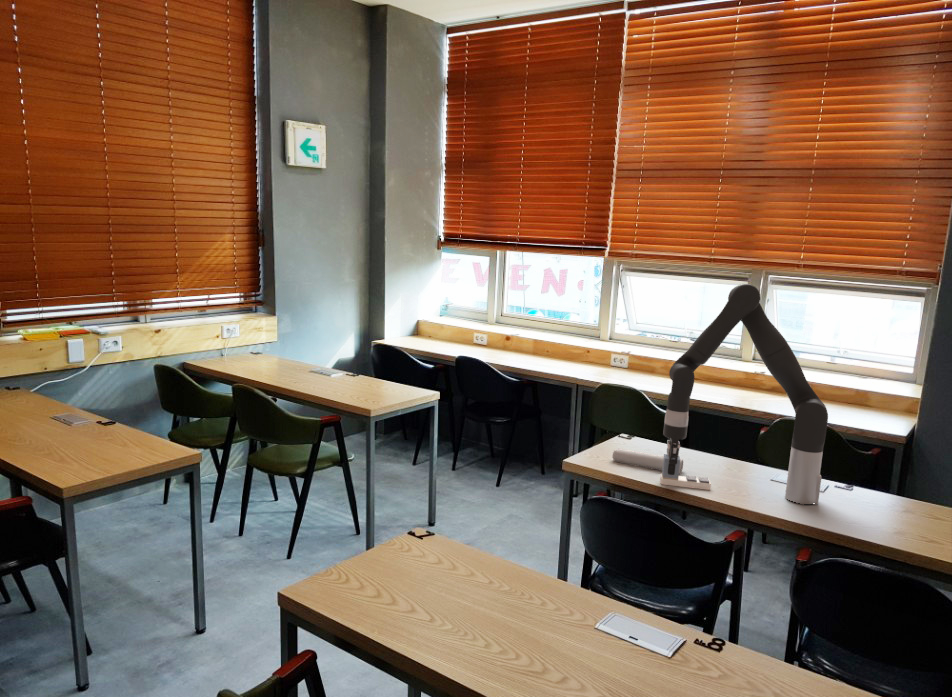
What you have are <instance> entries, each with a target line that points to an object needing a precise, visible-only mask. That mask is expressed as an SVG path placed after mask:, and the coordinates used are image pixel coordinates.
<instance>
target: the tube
mask: <svg viewBox="0 0 952 697" xmlns="http://www.w3.org/2000/svg"><path fill="white" fill-rule="evenodd" d="M663 459H664V455H658V454H654V453H653V454H652V453H646V452H640V451H635V450H634V451H633V450H628V449H621V448H617V449H614V450H613V452H612V460H613V461H614V462H616V463H619V462H620V463H619V464H624V465H630V464H631V465H630V466H635V465H636V466H637V467H641V468H646V467H647V469H651V468H652V469H653V470H656V471H662V469H663ZM683 469H684V459H683V458H680V468H679V475H681V474H682V473H683Z"/></svg>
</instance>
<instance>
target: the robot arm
mask: <svg viewBox="0 0 952 697" xmlns="http://www.w3.org/2000/svg"><path fill="white" fill-rule="evenodd" d="M727 300H728V301H727V302H726V304H725V306H724V307H723V309H722V310H721V311H720V313H719V314H718V315H717V316H716V317H715V319H714V320H713V321H712V322H711V323H710V324H709V325H708V326H707V327H706V328H705V329H704V330H703V331H702V332H701V333H700V335H699V336H698V337H697V338H696V339H695V340H694V341H693V343H692V344H691V346H690V347H689V348H688V349H687V351H686V352H684V353H683V354H682V355H681V356H680V357H679V358H677V359H676V361H675V362H674V363H673V364H672V365H671V367H670V369H669V372H668V373H669V374H668V375H669V378H670V380H671V382H672V384H671V391H670V393H668V396H667V397H668V398H667V404H666V411H665V415H664V423H663V431H662V432H663V433H662V435H663V436H664V437H665V438H666V439H667V441H666V442H667V443H666V446H667V447H666V454H667V455H668V456H669V461H668V462H669V465H668V474H669V475H674V474H675V466H676V464H677V459H678V456H679V457H680V455H679V453H680V449H681V444H680V441H679V440H685V439H686V438H687V435H688V434H687V433H688V426H689V409H690V399H691V396H692V392H693V388H694V384H695V371H696V370H697V369H698V368H699V367H700V366H702V365H704V364H706V363H707V362H708V361H709V359H710V358H711V357H712V356H713V355H714V353H715V352H716V351H718V349H719V347H720V346H721V345H722V343H723V342H724V340H725V339H726V338H727V336H728V335H729V334H730V333H731V332H732V331H733V329H734V328H735V327H736V326H737V325H738V324H739V323H740V322H741V323H742V324H743V325H744V327H745V329H746V330H747V332H748V334H749V336H750V338H751V341H752V343H753V345H754V347H755V349H756V351H757V353H758V355H759V356H760V358H761V360H762V362H763V363H764V365H765V367H766V368H767V371H769V373H770V374H771V375H772V377H773V378H774V380H775V381H776V382H777V383H778V384H779V385H780V386H781V387H782V389H783V390H784V392H785V394H786V395H787V397H788V399H789V401H790V403H791V405H792V407H793V410H794V413H795V414H794V415H795V417H794V423H793V424H794V425H793V431H792V439H791V445H790V448H791V449H790V456H789V463H788V470H787V471H788V472H787V478H786V488H785V495H784V498H785V499H786V500H787V499H788V501H789V500H790V501H789V502H791V501H793V502H792V503H794V502H796V503H795V504H798V503H800V505H804V504H813V503H815V504H813V505H817V504H818V505H819V499H820V492H821V484H822V478H823V477H822V475H821V468H822V460H823V454H824V453H823V452H824V446H825V442H826V436H827V429H828V422H829V421H828V420H829V414H828V409H827V407H826V405H825V404H824V402H823V401H822V400H821V398H820V397H819V396H818V395H817V393H816V392H815V390H814V389H813V388H812V387H811V385H810V383H809V382H808V380H807V378H806V377H805V374H804V371H803V370H802V369H803V368H802V367H801V365H800V363H799V361H798V359H797V357H796V355H795V353H794V352H793V350H792V348H791V346H790V344H789V343H788V342H787V340H786V339H785V337H784V336H783V335H782V333H781V332H780V331H779V329H778V328H776V327H775V325H774V324H773V323H772V322H771V321H770V319H769V318H768V316H767V315H766V313H765V311H764V309H763V307H762V305H761V293H760V291H759V289H758V288H757V287H756V286H754V285H752V284H750V283H742V284H739V285H737V286H734V287H733V288H732V289H731V290H730V292H729V294H728V297H727ZM671 458H675V460H671Z"/></svg>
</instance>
